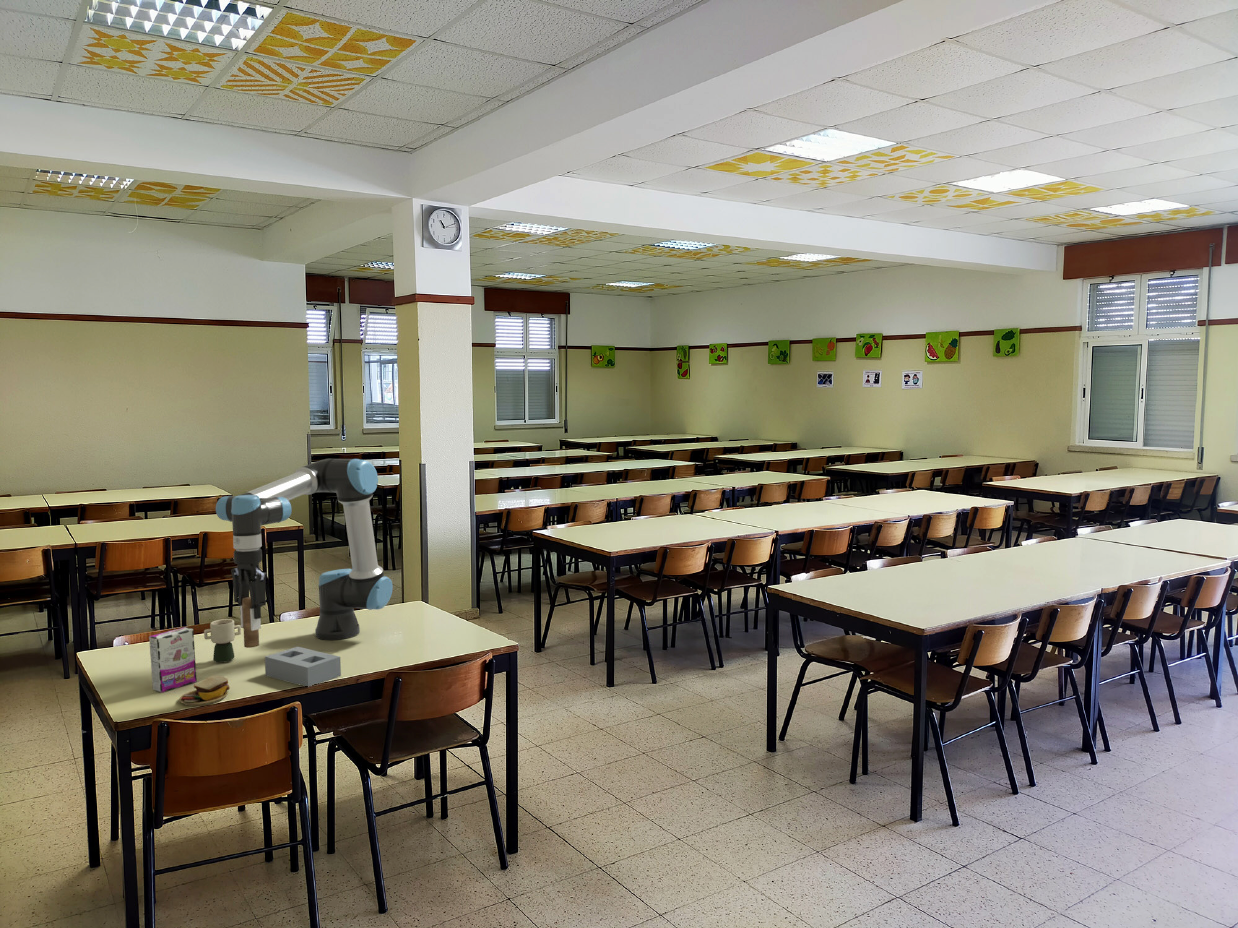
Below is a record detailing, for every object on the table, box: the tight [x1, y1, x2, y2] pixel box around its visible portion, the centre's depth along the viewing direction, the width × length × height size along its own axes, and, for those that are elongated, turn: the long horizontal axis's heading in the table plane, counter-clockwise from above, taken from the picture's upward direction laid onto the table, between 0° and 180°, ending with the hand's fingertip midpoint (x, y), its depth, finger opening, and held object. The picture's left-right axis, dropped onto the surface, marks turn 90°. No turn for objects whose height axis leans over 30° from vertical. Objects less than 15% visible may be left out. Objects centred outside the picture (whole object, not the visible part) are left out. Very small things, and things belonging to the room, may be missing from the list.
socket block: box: [264, 646, 342, 688], centre depth 263 cm, size 20×12×6 cm, turn 58°
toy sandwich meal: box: [178, 675, 231, 707], centre depth 244 cm, size 12×14×5 cm
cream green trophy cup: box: [203, 618, 242, 663], centre depth 277 cm, size 11×7×13 cm, turn 122°
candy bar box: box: [148, 626, 198, 694], centre depth 253 cm, size 11×5×16 cm, turn 148°
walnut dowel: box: [242, 596, 260, 649], centre depth 249 cm, size 4×4×14 cm
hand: (251, 627), depth 249 cm, fingers closed on walnut dowel, 4 cm apart
